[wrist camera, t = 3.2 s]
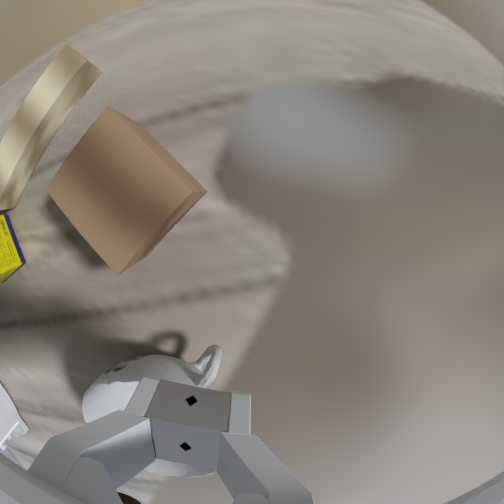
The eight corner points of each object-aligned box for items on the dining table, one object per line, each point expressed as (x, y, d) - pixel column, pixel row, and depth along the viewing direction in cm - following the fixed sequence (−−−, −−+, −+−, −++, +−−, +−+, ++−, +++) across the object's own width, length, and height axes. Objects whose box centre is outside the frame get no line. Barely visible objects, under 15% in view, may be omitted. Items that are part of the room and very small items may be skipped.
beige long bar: (14, 207, 20) (-5, 210, 18) (-1, 185, 20) (-19, 186, 17) (102, 71, 18) (86, 60, 15) (81, 55, 18) (66, 44, 15)
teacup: (194, 438, 26) (184, 492, 18) (99, 379, 24) (66, 426, 17) (283, 359, 24) (295, 421, 16) (165, 277, 22) (127, 318, 14)
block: (148, 254, 22) (117, 275, 16) (88, 188, 21) (46, 190, 15) (207, 191, 21) (192, 191, 15) (141, 125, 20) (107, 105, 14)
